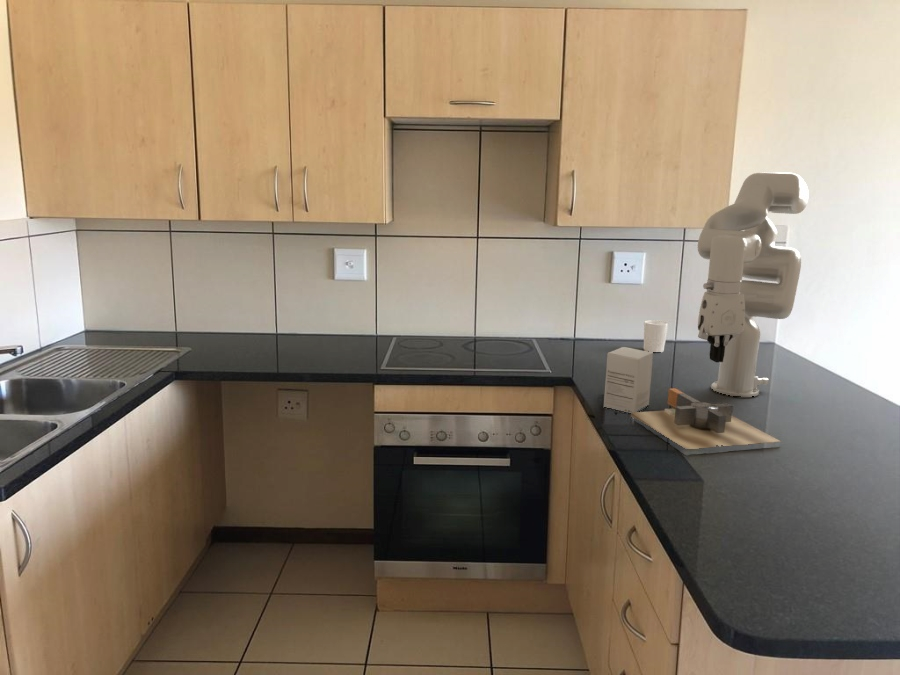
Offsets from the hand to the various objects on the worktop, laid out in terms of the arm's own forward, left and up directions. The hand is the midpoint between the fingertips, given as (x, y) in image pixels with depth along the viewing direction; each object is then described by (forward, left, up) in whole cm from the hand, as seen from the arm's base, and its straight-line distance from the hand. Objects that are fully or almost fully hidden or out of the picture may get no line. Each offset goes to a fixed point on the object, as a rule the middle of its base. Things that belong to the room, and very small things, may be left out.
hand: (716, 360), depth 169 cm
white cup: (-24, -67, -16) cm, 72 cm away
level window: (+7, -3, -14) cm, 16 cm away
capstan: (+7, +4, -14) cm, 16 cm away
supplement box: (+16, -13, -16) cm, 26 cm away
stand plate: (+7, +7, -15) cm, 18 cm away
